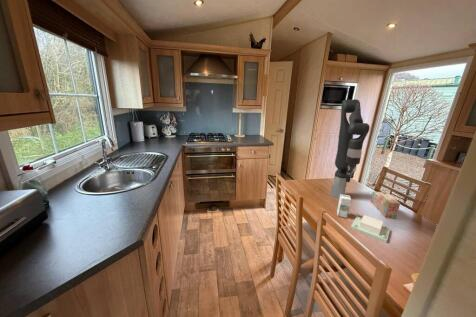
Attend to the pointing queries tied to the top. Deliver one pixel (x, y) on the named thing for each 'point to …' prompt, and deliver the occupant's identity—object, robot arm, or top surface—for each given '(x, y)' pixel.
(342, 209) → the white tall block
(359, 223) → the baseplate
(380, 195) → the cardboard box
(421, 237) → the top surface
